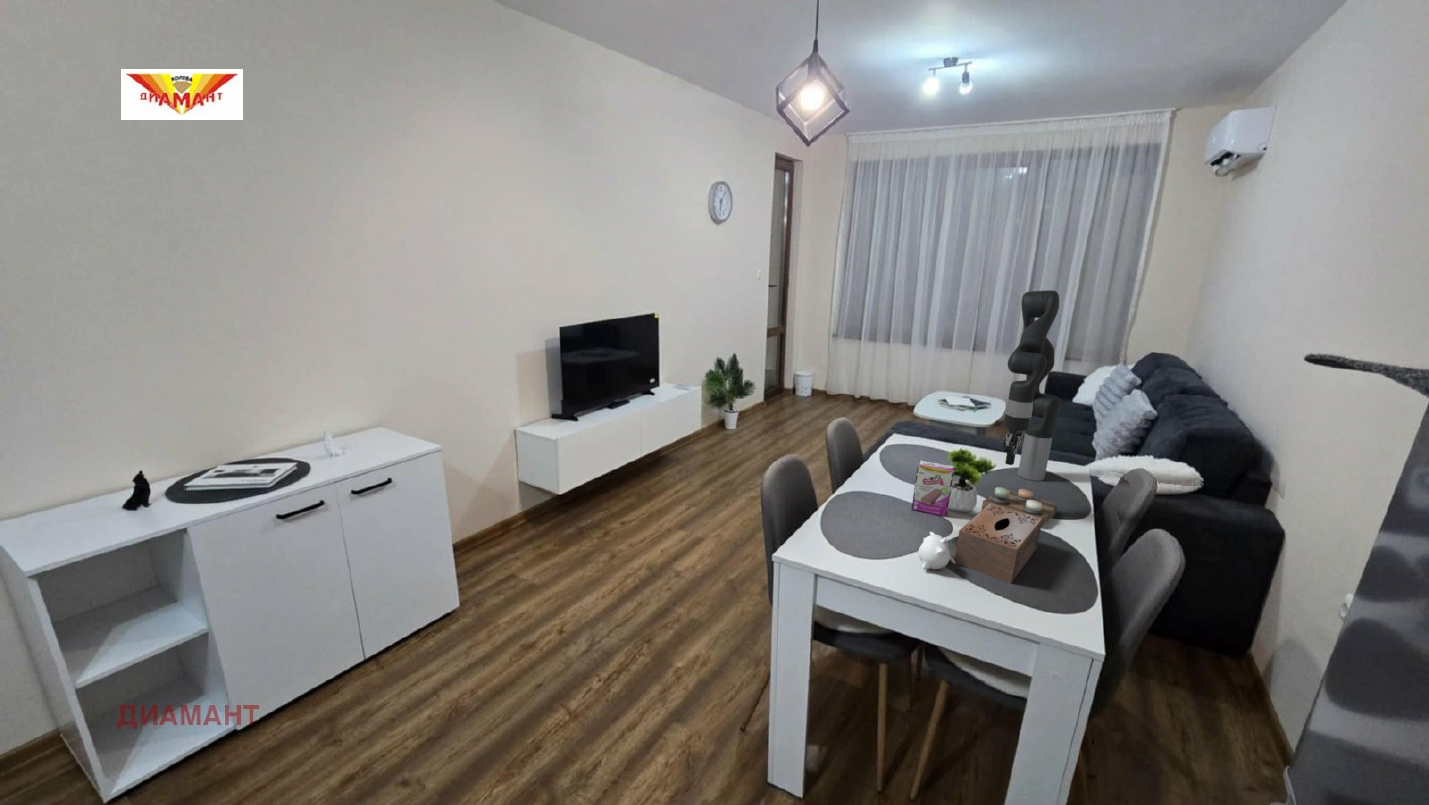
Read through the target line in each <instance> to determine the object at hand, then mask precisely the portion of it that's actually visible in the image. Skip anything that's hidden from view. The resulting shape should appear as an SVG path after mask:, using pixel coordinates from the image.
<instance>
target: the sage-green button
mask: <svg viewBox="0 0 1429 805" xmlns="http://www.w3.org/2000/svg"><path fill="white" fill-rule="evenodd" d="M1010 491H1011V490H1010V489H1008V488H1006V487H1002V486H996V487H995V488H994V493H993V494H995V495H996V496H998V497H1001V498H1008V497H1009V493H1010Z"/></svg>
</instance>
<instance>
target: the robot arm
mask: <svg viewBox="0 0 1429 805" xmlns="http://www.w3.org/2000/svg"><path fill="white" fill-rule="evenodd" d="M1059 310H1060V295H1059V293H1058V291H1056V290H1053V289H1051V290H1033V291H1031V290H1030V291H1026V292H1025V293H1023V295H1022V297H1021V313H1022V314H1021V315H1022V322H1023V332H1022V334H1021V337H1020V341H1019V345H1018V346H1017V347H1016V348H1015V349H1014V350H1013V352H1011V355H1010V356H1009V358H1008V361H1007V368H1008V370H1009V371H1010V372H1011V373H1012V374H1017V375H1025V377H1026V379H1025V380H1015V381H1013V382H1011V383H1010V388H1009V393H1008V399H1007V402H1006V407H1005V412H1004V418H1003V422H1002V425H1003V427H1005V428H1006V429H1007V430H1008V431H1007V432H1006V434H1005V438H1006V439H1003V442H1002V444H1003V449H1004V453H1006V457H1005V462H1004V463H1005V465H1008V466H1013V465H1014V464H1015V459H1016V455H1017V453H1018V452H1019V450H1020V448H1022V449H1021V453H1020V454H1021V455H1020V459H1019V465H1018V471H1017V475H1018V476H1019V477H1021V478H1023V479H1025V480H1029V481H1037V482H1038V481H1044V480H1045V477H1046V472H1047V467H1048V461H1049V457H1050V452H1051V447H1052V443H1053V442H1052V441H1053V436H1054V432H1055V430H1056V426H1057V423H1058V417H1059V414H1060V410H1061V406H1062V405H1061V403H1062V402H1061V398H1060V397H1059V396H1055V395H1052V394H1049V393H1048V394H1047V393H1042V392H1040V387H1041V386H1040V385H1041V383H1042V382H1043V381H1044V379H1045V378H1046V377H1047V376H1048V375H1049V374H1050V373H1051V371H1053V368H1054V367H1055V348H1054V346H1053V344H1052V342H1051V341H1050V340H1049V339H1048V337H1047V336H1048V333H1049V331H1050V329H1051V327H1052V325H1053V323H1054V321H1055V319H1056V316H1057V315H1058V312H1059ZM1036 318H1037V319H1036ZM1032 417H1036V418H1040V419H1042V422H1041V423H1034V424H1032V423H1031V420H1032ZM1023 431H1024V433H1023ZM1022 442H1023V443H1022ZM1021 445H1022V447H1021Z"/></svg>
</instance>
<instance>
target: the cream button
mask: <svg viewBox="0 0 1429 805" xmlns="http://www.w3.org/2000/svg"><path fill="white" fill-rule="evenodd" d="M1026 508H1027V509H1029V510H1032V511H1041V508H1042V503H1041V502H1039V501H1036V500H1027V502H1026Z"/></svg>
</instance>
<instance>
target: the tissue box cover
mask: <svg viewBox="0 0 1429 805" xmlns="http://www.w3.org/2000/svg"><path fill="white" fill-rule="evenodd" d="M1042 519H1043V518H1040V517H1036V516H1033V515H1030V514H1026V513H1023V512H1020V511H1016V510H1013V509H1009V508H1006V507H1003V506H999V505H996V504H993V503H989V504H988V505H987V506H986V507H985V508H984V509H982V508H981V510H980V511H979V512H978V513H977V514H976V515H974V517H972V519H970V520H969V521H968V522H967V523H966V524H965V525H964V526H963V527H962V528H960V529H959V531H958V536H957V544H956V550H955V555H954V556H955V557H954V561H955V564H957V565H960V566H963V567H965V568H968V569H970V570H972V571H976V572H978V573H981V574H984V575H987V576H989V577H992V578H993V579H997V580H1000V581H1003V582H1005V583H1007V584H1012V582H1013V581H1014V580H1015V578H1016V577H1017V576H1018V574H1019V573H1020V572H1021V571H1022V569H1023V567H1024V566H1025V565H1026V564H1027V562H1028V561H1030V558H1031V557H1032V556H1033V555H1034V553H1035V552H1036V551H1037V548H1038V543H1039V539H1040V538H1039V537H1040V533H1041V529H1042V527H1041V524H1042ZM1034 551H1035V552H1034ZM1033 552H1034V553H1033ZM1031 555H1032V556H1031Z"/></svg>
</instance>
